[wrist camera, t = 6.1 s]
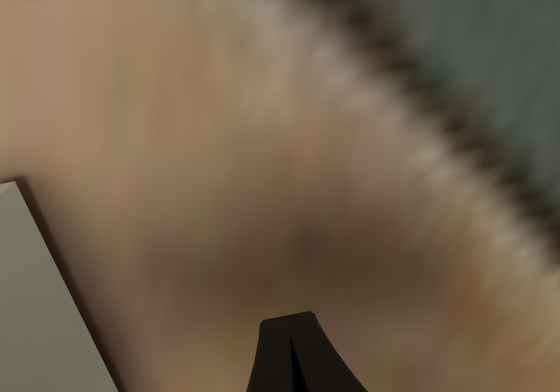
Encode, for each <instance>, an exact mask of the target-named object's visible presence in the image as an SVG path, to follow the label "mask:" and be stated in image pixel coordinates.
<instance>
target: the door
mask: <svg viewBox="0 0 560 392" xmlns="http://www.w3.org/2000/svg"><path fill="white" fill-rule="evenodd" d="M0 392H118V390H117V388H116V386H115V384H114V382H113V380H112V378H111V376H110V374H109V372H108V370H107V368H106V366H105V364H104V362H103V360H102V358H101V356H100V354H99V352H98V350H97V348H96V346H95V344H94V341H93V339H92V337H91V335H90V333H89V331H88V329H87V327H86V325H85V323H84V321H83V319H82V317H81V315H80V313H79V311H78V309H77V307H76V305H75V303H74V301H73V299H72V297H71V295H70V293H69V291H68V289H67V287H66V284H65V282H64V280H63V278H62V276H61V274H60V272H59V270H58V268H57V266H56V264H55V262H54V260H53V258H52V256H51V254H50V252H49V250H48V248H47V246H46V244H45V242H44V240H43V238H42V236H41V234H40V232H39V230H38V227H37V225H36V223H35V221H34V219H33V217H32V215H31V213H30V211H29V209H28V207H27V205H26V203H25V201H24V199H23V197H22V195H21V193H20V191H19V189H18V187H17V185H16V183H15V181H14V182H9V183H4V184H0Z"/></svg>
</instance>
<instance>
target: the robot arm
mask: <svg viewBox="0 0 560 392" xmlns="http://www.w3.org/2000/svg"><path fill="white" fill-rule="evenodd" d="M246 392H368V391H367V390H366V389H365V388H364V387H363V386H362V384H361V383H360V382H359V381H358V379H357V378H356V377H355V376H354V374H353V373H352V372H351V370H350V369H349V368H348V367H347V365H346V364H345V363H344V361H343V360H342V359H341V357H340V356H339V354H338V353H337V352H336V350H335V349H334V347H333V346H332V344H331V343H330V341H329V340H328V338H327V337H326V335H325V333H324V332H323V330H322V328H321V326H320V324H319V322H318V321H317V318H316V316H315V314H314V313H312V312H311V311H307V312H302V313H297V314H292V315H287V316H282V317H276V318H271V319H266V320H263V321H262V322H261V323H260V331H259V340H258V346H257V351H256V356H255V361H254V365H253V369H252V373H251V376H250V380H249V384H248V388H247V391H246Z"/></svg>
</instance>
